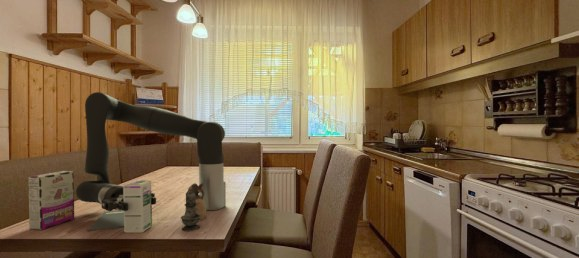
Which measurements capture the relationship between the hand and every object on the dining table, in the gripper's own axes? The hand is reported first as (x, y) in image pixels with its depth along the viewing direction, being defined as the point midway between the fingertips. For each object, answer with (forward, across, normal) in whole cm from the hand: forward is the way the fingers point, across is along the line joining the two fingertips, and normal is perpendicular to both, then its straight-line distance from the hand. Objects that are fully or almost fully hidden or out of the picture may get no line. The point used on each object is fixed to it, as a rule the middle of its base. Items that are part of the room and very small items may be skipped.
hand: (141, 204), depth 87 cm
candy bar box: (-30, -13, +8) cm, 34 cm away
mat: (-18, +1, +8) cm, 20 cm away
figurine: (+3, +17, +8) cm, 19 cm away
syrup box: (-2, 0, +8) cm, 8 cm away
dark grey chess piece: (+10, +10, +8) cm, 16 cm away
